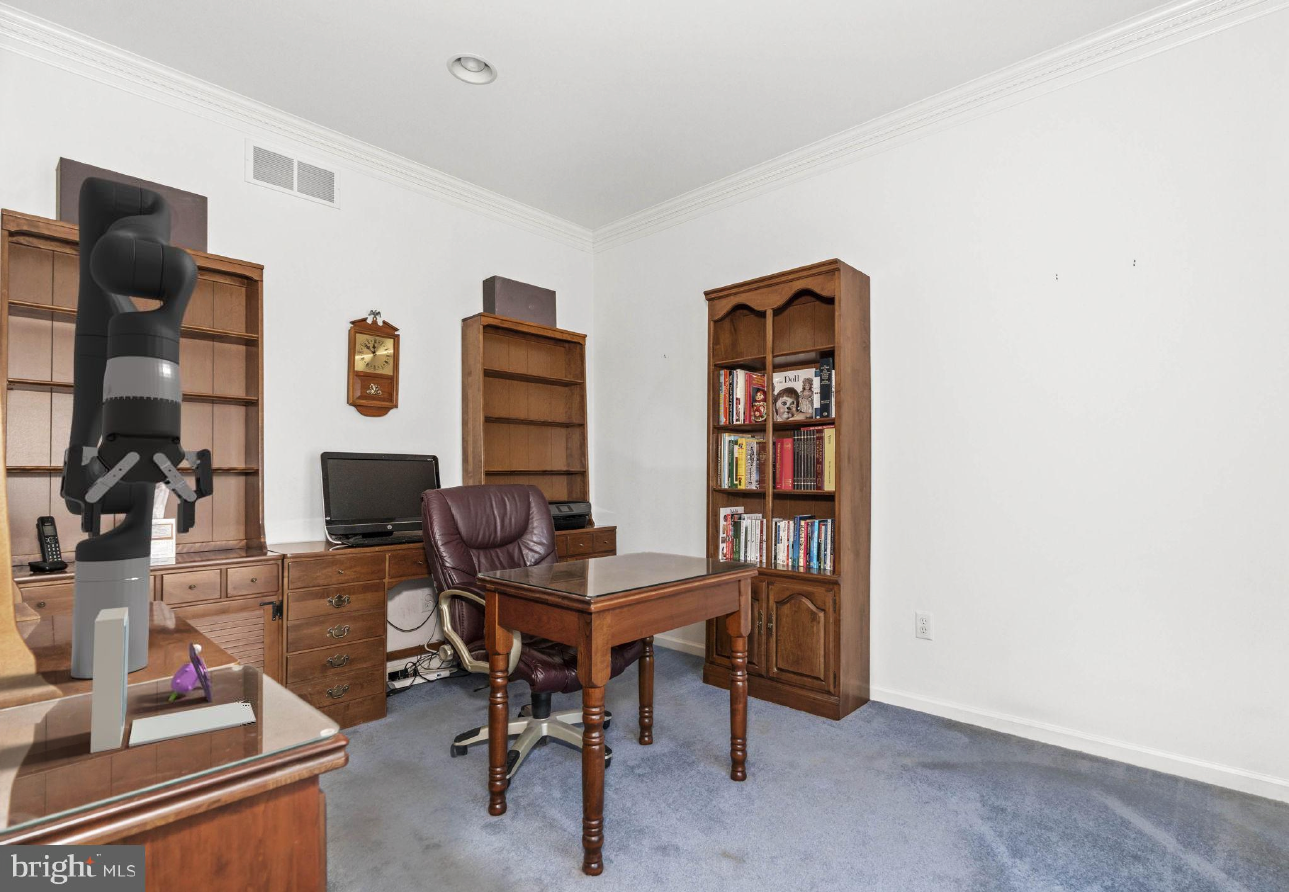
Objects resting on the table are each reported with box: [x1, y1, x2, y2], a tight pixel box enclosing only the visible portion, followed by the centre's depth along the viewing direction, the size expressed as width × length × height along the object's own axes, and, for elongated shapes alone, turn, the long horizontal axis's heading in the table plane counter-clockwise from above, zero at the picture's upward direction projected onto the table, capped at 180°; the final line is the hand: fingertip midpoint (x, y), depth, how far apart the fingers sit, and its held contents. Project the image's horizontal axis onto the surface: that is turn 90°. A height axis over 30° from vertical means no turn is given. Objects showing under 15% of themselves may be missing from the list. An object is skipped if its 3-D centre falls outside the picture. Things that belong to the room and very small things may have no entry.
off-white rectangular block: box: [90, 607, 129, 754], centre depth 75 cm, size 8×3×14 cm, turn 36°
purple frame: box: [168, 642, 213, 703], centre depth 89 cm, size 7×5×9 cm
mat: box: [128, 700, 257, 748], centre depth 79 cm, size 9×12×1 cm
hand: (140, 535), depth 78 cm, fingers open, 8 cm apart
